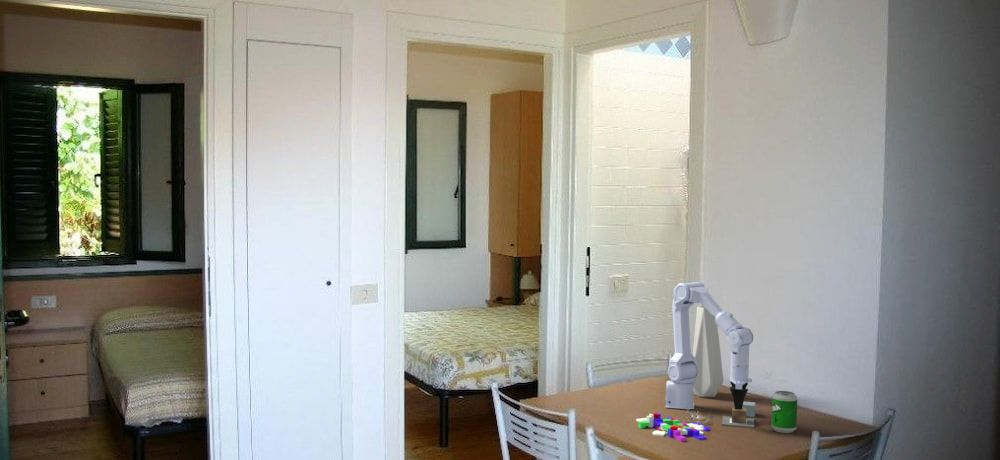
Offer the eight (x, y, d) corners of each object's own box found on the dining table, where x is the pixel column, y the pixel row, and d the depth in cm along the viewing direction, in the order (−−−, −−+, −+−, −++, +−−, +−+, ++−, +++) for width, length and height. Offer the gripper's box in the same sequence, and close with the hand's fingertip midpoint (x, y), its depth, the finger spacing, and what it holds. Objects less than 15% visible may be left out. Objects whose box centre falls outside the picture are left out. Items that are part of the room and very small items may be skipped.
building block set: (726, 439, 263) (726, 424, 262) (667, 445, 256) (667, 430, 255) (682, 418, 286) (682, 404, 286) (628, 423, 279) (628, 409, 279)
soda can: (796, 428, 273) (797, 391, 272) (796, 434, 265) (797, 396, 265) (771, 426, 275) (772, 389, 274) (771, 432, 268) (772, 394, 267)
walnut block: (731, 422, 277) (732, 410, 277) (731, 418, 282) (732, 407, 281) (746, 423, 276) (746, 411, 276) (746, 420, 280) (746, 408, 280)
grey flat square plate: (722, 425, 276) (722, 423, 276) (722, 417, 285) (722, 416, 285) (754, 427, 273) (754, 426, 273) (754, 419, 282) (754, 418, 282)
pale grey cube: (740, 416, 287) (741, 404, 287) (741, 412, 291) (741, 401, 291) (754, 417, 286) (755, 405, 286) (754, 414, 290) (755, 402, 290)
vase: (726, 394, 317) (728, 306, 316) (716, 400, 308) (718, 309, 306) (695, 389, 324) (697, 303, 322) (684, 395, 314) (686, 307, 313)
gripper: (752, 370, 270) (751, 412, 271) (752, 361, 284) (751, 401, 285) (729, 369, 272) (728, 410, 273) (730, 360, 286) (729, 400, 287)
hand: (738, 406), depth 279 cm, fingers open, 7 cm apart
